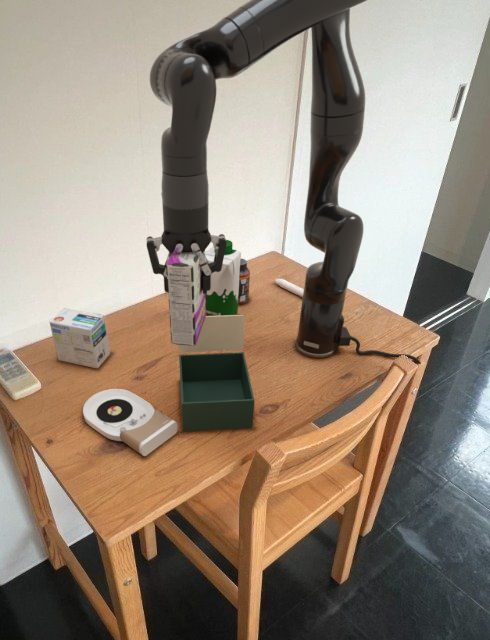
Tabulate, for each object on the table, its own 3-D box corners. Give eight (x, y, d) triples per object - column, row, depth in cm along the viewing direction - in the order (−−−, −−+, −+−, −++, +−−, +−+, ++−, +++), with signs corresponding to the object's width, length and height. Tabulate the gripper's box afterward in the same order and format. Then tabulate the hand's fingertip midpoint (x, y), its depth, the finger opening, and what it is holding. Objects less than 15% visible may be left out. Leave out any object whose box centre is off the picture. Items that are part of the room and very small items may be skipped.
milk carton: (241, 315, 135) (245, 242, 122) (226, 332, 129) (229, 257, 116) (211, 308, 138) (212, 235, 125) (195, 324, 132) (194, 250, 119)
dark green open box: (182, 432, 102) (181, 403, 97) (180, 382, 114) (179, 354, 109) (252, 428, 102) (254, 400, 98) (242, 379, 114) (243, 352, 110)
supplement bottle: (248, 305, 139) (251, 266, 131) (226, 305, 139) (228, 266, 132) (247, 294, 143) (250, 256, 136) (226, 294, 143) (227, 256, 136)
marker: (272, 284, 148) (273, 276, 146) (277, 281, 149) (278, 274, 147) (321, 308, 137) (322, 300, 136) (326, 306, 138) (327, 298, 137)
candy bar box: (182, 314, 104) (179, 235, 93) (206, 316, 103) (206, 237, 93) (169, 344, 96) (164, 262, 85) (195, 347, 95) (194, 264, 84)
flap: (177, 317, 104) (177, 317, 105) (179, 352, 108) (179, 351, 109) (244, 315, 105) (244, 314, 105) (243, 349, 109) (243, 349, 109)
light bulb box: (111, 353, 122) (105, 314, 115) (98, 369, 117) (91, 329, 110) (71, 345, 125) (63, 306, 118) (57, 360, 120) (47, 321, 113)
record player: (136, 449, 94) (70, 402, 104) (138, 461, 96) (72, 414, 106) (181, 417, 100) (114, 376, 111) (182, 428, 102) (116, 387, 113)
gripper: (140, 208, 80) (148, 304, 91) (232, 206, 81) (229, 301, 92) (141, 192, 86) (148, 284, 97) (226, 190, 87) (224, 281, 98)
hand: (187, 292), depth 94 cm, fingers closed on candy bar box, 5 cm apart
